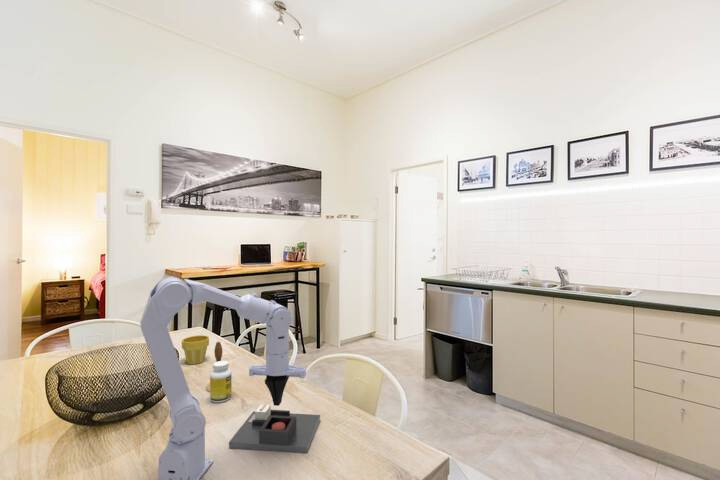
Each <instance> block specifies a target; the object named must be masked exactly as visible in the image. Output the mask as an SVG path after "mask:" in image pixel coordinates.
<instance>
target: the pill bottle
mask: <svg viewBox="0 0 720 480" xmlns="http://www.w3.org/2000/svg"><path fill="white" fill-rule="evenodd" d="M212 368H213V371H211V372H210V375H209V377H210V378H209V383H210V392H209V395H210V396H209V397H210V401H211V402H213V403H224V402H227V401H229V400H231V398H232V395H233V393H232V390H233V389H232V387H233V386H232V370H231V369H230V368H229V361H227V360H221V361H218V362H216V361H215V362H214V363H213V364H212Z"/></svg>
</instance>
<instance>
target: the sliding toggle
mask: <svg viewBox="0 0 720 480" xmlns="http://www.w3.org/2000/svg"><path fill="white" fill-rule="evenodd" d="M271 407H272V405H271V404H267V403H265V402H264V403H263V404H261V403H260V404H259V406H258V407H257V409H255V420H267V418H268V417H269V416H270V415H271V410H272V409H271Z"/></svg>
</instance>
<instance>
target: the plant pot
mask: <svg viewBox="0 0 720 480" xmlns="http://www.w3.org/2000/svg"><path fill="white" fill-rule="evenodd" d="M209 346H210V336H208V335H202V334H201V335H191V336H188V337H184V338H183V339H182V340H181V348H182V350H183V353H184V356H185V359H186V364H188V365H197V364H198V365H199V364H201V363H204V362H205V360H206V355H207V350H208V347H209Z"/></svg>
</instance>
